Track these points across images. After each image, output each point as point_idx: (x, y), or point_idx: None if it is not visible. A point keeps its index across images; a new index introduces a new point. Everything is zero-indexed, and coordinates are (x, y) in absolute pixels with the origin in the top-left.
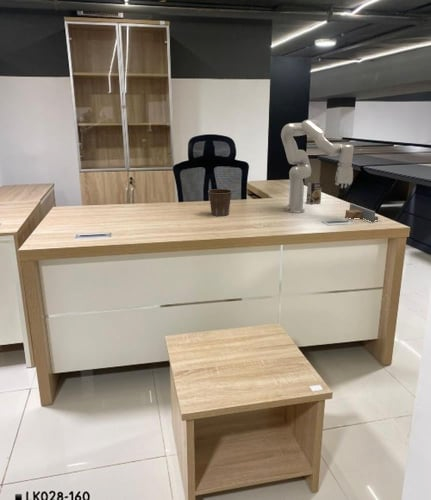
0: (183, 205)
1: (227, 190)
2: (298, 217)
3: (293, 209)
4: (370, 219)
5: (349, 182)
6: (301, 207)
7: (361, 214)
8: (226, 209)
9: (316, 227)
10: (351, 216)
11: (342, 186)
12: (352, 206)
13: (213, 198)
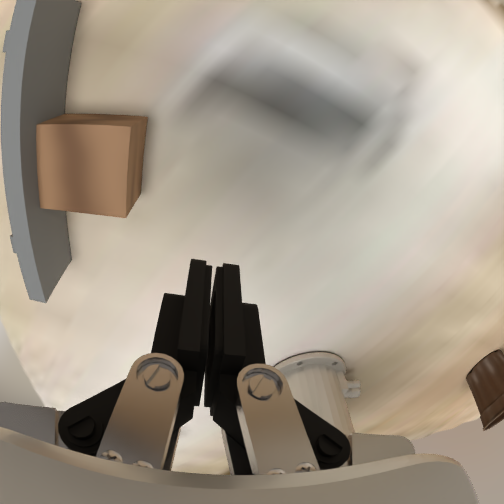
0: (446, 421)
1: (485, 425)
2: (393, 290)
3: (335, 373)
4: (68, 13)
5: (28, 471)
6: (303, 379)
7: (53, 119)
8: (499, 364)
9: (479, 89)
10: (138, 120)
11: (258, 403)
12: (43, 266)
13: None
